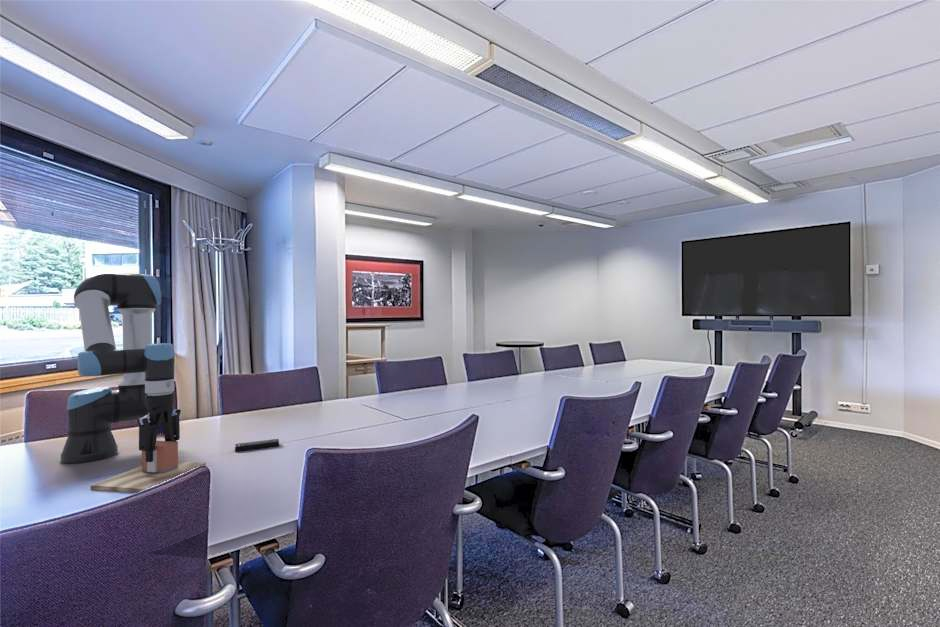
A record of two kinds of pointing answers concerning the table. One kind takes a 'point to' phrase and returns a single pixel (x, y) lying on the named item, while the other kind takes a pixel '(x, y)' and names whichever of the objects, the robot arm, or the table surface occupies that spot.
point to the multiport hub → (256, 445)
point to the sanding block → (163, 456)
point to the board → (142, 478)
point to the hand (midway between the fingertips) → (160, 468)
